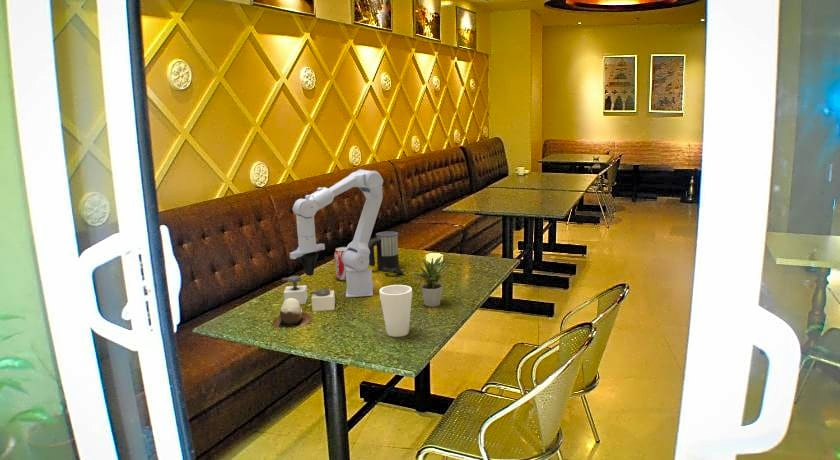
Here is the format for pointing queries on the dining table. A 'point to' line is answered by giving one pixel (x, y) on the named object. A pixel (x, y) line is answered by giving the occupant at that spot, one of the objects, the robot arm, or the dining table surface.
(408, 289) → the foam cup
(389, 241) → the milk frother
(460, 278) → the dining table surface
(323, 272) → the dining table surface
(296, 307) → the skull
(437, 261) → the house plant
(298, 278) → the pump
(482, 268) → the dining table surface
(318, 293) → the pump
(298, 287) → the square base with knob
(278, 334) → the dining table surface
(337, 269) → the soda can
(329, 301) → the off-white square plinth
